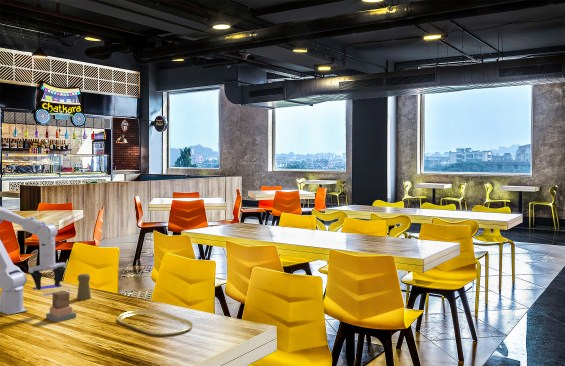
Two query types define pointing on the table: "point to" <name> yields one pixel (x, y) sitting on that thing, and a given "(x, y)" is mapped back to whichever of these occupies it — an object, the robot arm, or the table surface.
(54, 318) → the gray slab
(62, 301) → the walnut block
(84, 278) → the taupe pawn
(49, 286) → the booklet
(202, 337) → the table surface
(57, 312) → the terracotta cap
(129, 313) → the serving platter
